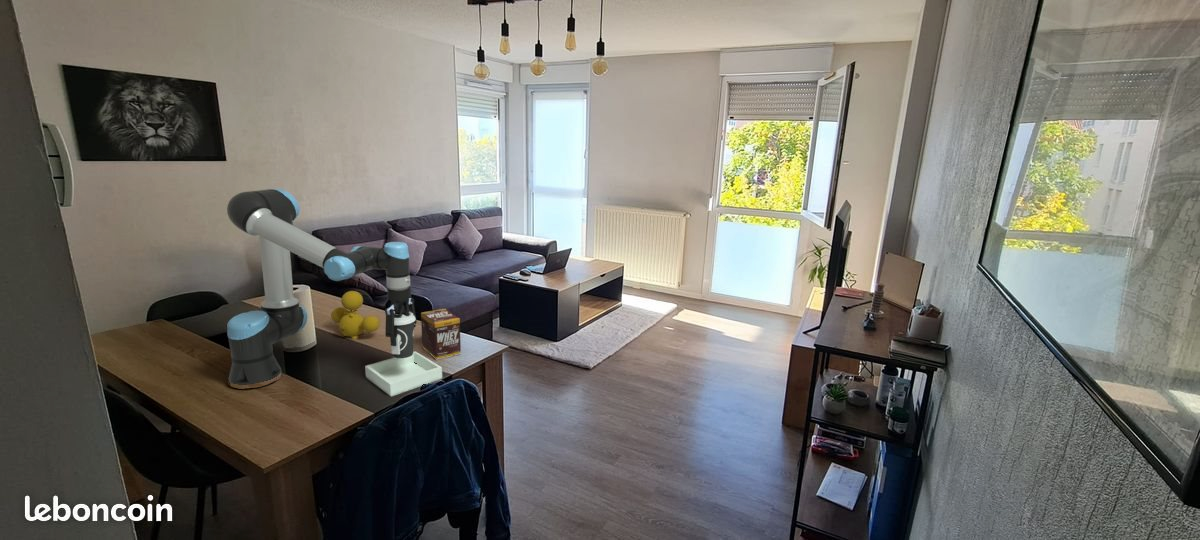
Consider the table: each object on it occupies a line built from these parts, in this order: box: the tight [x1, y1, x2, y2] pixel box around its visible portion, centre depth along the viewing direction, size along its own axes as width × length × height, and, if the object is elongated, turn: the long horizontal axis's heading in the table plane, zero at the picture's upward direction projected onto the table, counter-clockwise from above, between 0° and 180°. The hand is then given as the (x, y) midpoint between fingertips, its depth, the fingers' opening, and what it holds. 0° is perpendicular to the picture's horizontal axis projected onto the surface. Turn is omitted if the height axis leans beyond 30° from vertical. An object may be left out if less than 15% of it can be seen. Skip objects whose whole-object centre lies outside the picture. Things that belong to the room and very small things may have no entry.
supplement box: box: [420, 308, 462, 359], centre depth 197 cm, size 10×15×16 cm
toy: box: [330, 290, 381, 340], centre depth 207 cm, size 26×10×20 cm, turn 63°
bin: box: [364, 351, 443, 397], centre depth 175 cm, size 19×19×4 cm
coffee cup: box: [392, 312, 417, 358], centre depth 171 cm, size 10×10×15 cm
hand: (402, 348), depth 172 cm, fingers closed on coffee cup, 7 cm apart
